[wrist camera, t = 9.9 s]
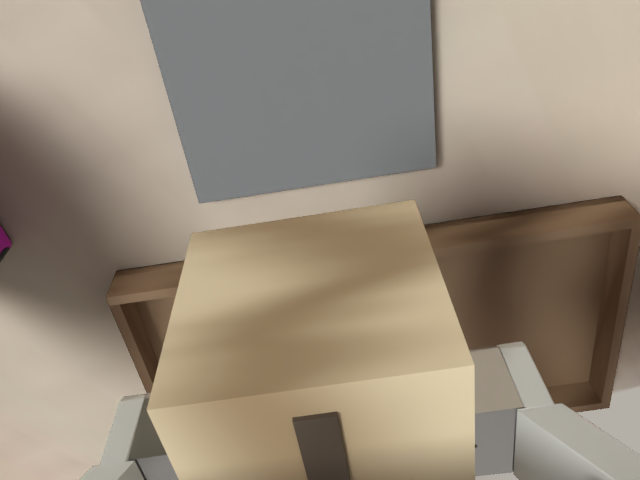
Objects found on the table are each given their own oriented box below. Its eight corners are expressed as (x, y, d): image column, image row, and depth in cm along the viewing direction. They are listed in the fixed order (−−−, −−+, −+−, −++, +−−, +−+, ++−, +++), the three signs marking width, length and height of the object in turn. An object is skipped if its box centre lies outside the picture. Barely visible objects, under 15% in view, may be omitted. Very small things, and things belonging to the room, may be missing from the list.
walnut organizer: (621, 195, 29) (644, 217, 27) (592, 379, 36) (609, 407, 34) (116, 270, 30) (105, 297, 28) (184, 437, 37) (179, 467, 35)
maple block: (414, 199, 13) (476, 369, 9) (425, 361, 16) (476, 550, 11) (191, 233, 13) (145, 415, 9) (241, 386, 16) (223, 581, 12)
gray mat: (421, -112, 22) (425, -111, 21) (432, 159, 28) (436, 167, 27) (127, -63, 22) (122, -61, 21) (201, 195, 28) (199, 203, 27)
